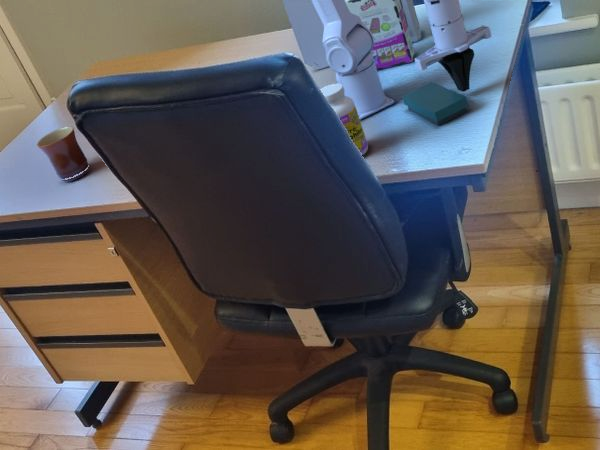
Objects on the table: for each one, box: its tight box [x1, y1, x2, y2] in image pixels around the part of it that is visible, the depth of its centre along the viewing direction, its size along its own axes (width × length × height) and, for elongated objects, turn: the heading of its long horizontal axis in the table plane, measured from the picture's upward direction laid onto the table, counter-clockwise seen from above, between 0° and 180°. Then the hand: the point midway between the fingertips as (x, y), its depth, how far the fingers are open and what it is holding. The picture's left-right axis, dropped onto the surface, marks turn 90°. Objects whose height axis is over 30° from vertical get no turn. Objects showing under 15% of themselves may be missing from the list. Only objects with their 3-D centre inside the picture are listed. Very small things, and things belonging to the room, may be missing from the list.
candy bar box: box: [345, 0, 416, 71], centre depth 165 cm, size 11×5×16 cm, turn 76°
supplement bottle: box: [319, 83, 369, 156], centre depth 136 cm, size 7×7×13 cm
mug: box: [36, 126, 90, 183], centre depth 176 cm, size 12×9×10 cm
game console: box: [281, 0, 422, 71], centre depth 176 cm, size 6×27×20 cm, turn 83°
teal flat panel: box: [401, 81, 469, 127], centre depth 141 cm, size 12×6×3 cm, turn 22°
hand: (463, 89), depth 142 cm, fingers closed
